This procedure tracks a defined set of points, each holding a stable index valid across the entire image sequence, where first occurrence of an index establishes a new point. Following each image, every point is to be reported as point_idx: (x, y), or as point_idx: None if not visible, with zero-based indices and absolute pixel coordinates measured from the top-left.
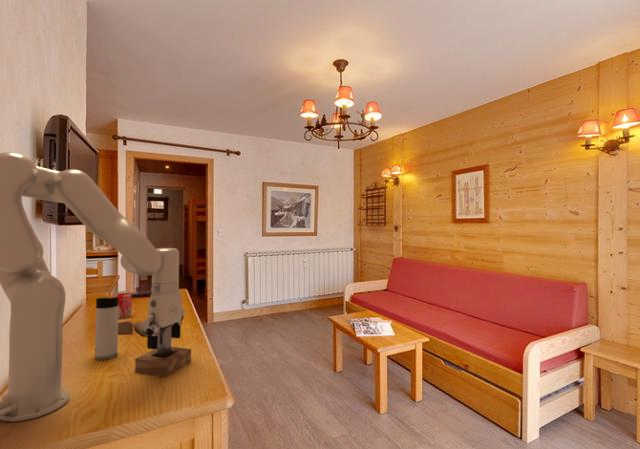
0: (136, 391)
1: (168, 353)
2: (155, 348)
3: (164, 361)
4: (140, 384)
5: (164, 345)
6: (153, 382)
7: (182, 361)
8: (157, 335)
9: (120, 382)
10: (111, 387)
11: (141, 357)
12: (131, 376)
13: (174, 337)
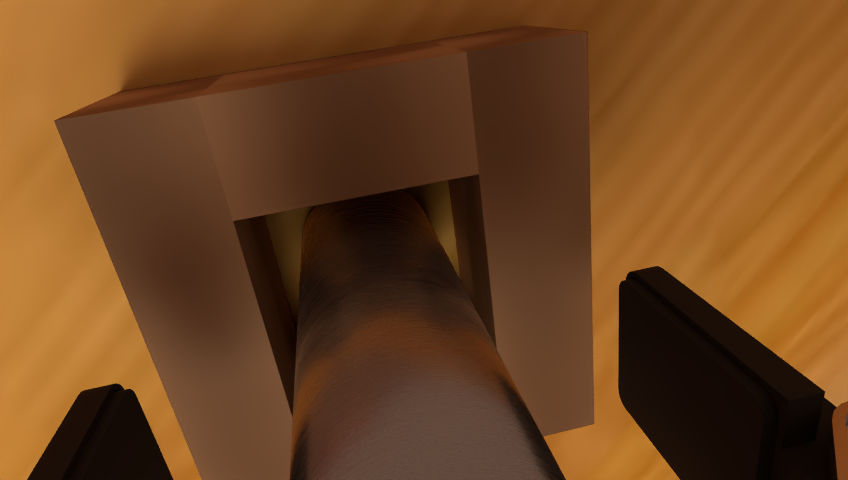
0: (802, 31)
1: (385, 237)
2: (659, 277)
3: (559, 93)
4: (699, 114)
5: (466, 308)
6: (644, 40)
7: (271, 73)
8: (794, 398)
9: (704, 280)
10: (776, 262)
11: (556, 402)
12: (608, 303)
13: (158, 453)
